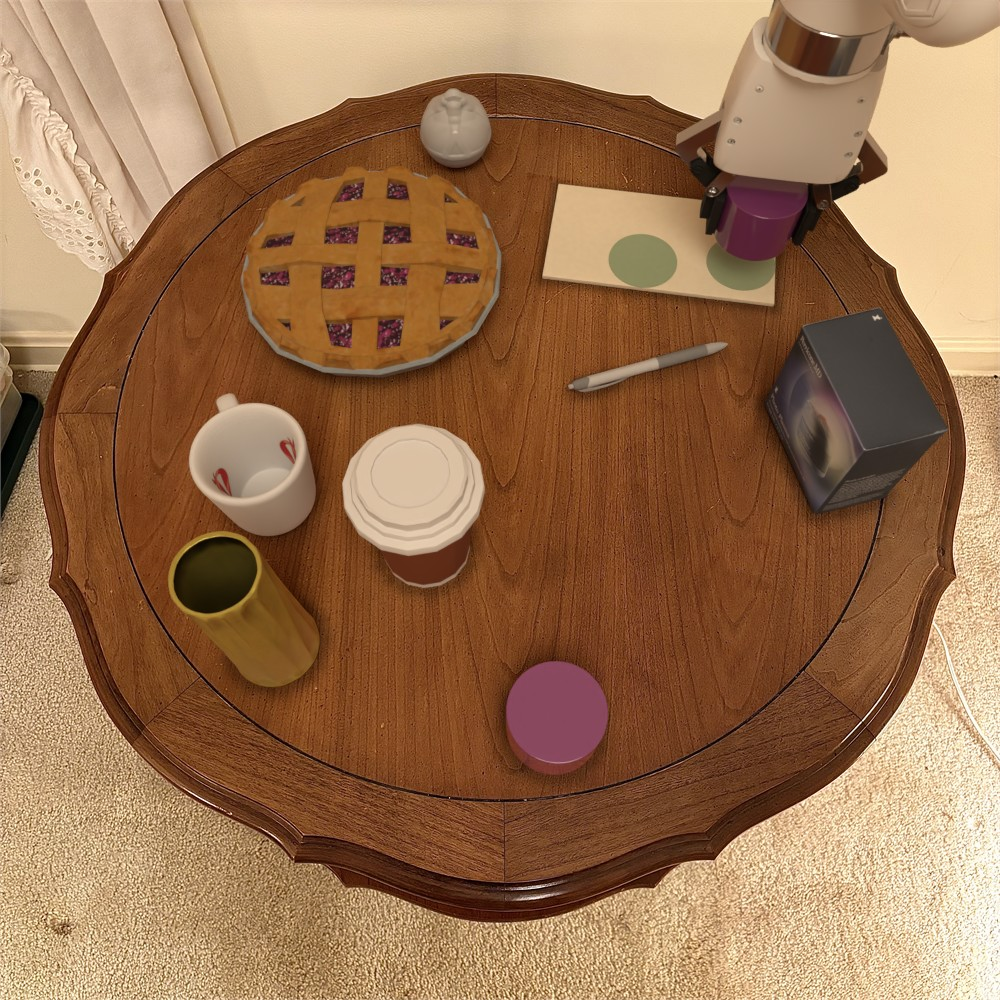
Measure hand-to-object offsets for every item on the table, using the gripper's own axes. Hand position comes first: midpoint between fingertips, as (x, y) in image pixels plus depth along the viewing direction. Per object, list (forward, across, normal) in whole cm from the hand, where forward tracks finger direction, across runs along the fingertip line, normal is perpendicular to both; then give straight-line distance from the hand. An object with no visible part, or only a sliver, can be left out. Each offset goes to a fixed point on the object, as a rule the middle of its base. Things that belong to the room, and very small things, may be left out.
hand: (753, 226), depth 70 cm
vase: (+5, +31, +40) cm, 50 cm away
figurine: (+5, +27, -9) cm, 29 cm away
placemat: (+5, +7, -1) cm, 9 cm away
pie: (+5, +31, +8) cm, 32 cm away
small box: (+5, -7, +18) cm, 20 cm away
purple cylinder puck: (+1, 0, 0) cm, 1 cm away
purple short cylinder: (+5, +11, +42) cm, 44 cm away
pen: (+5, +7, +12) cm, 15 cm away
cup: (+5, +35, +28) cm, 45 cm away
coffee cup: (+5, +22, +31) cm, 38 cm away
